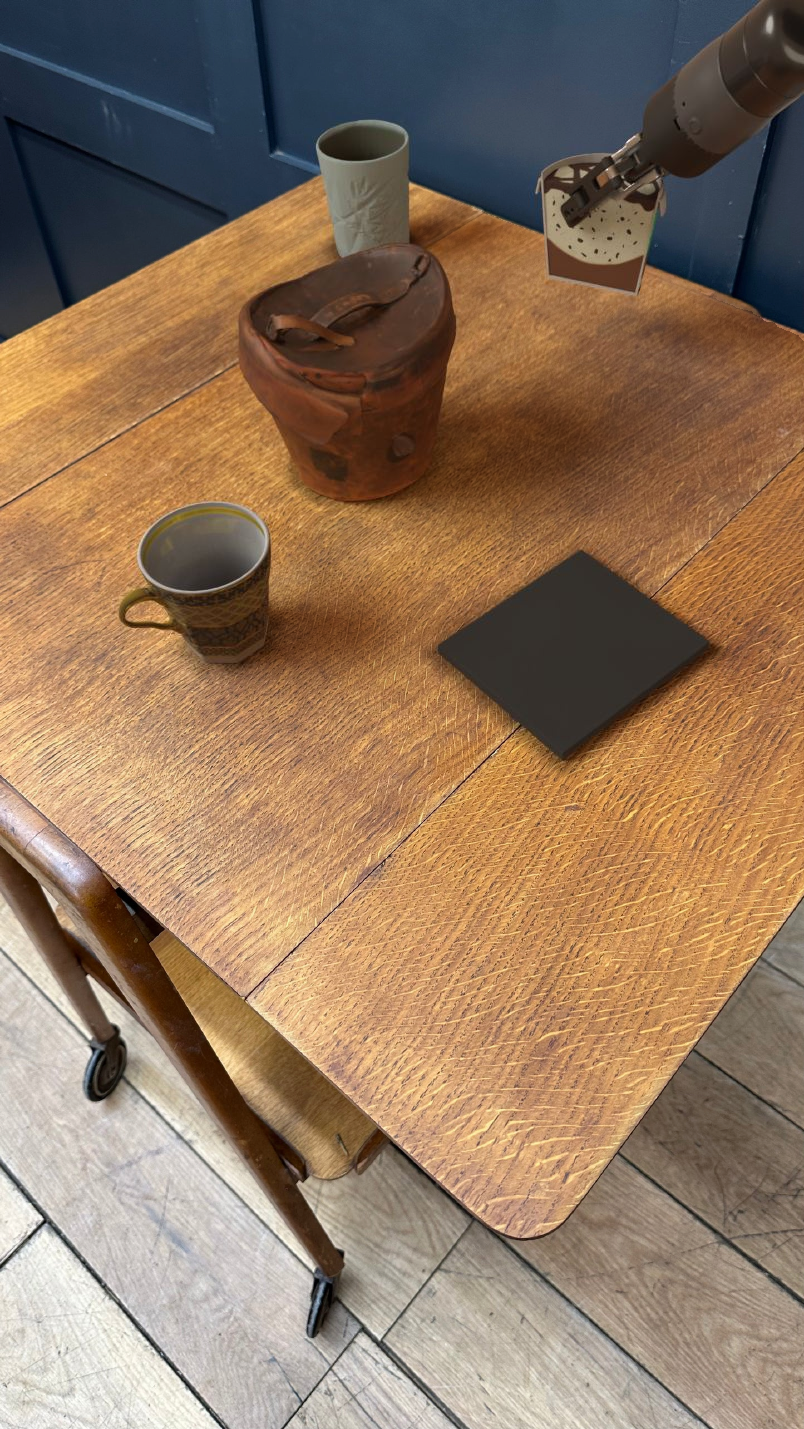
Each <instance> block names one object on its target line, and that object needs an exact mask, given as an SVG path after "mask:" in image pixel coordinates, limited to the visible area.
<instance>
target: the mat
mask: <svg viewBox="0 0 804 1429" xmlns="http://www.w3.org/2000/svg"><path fill="white" fill-rule="evenodd" d="M710 644H711V641H710V640H708V639H707V638H705V637H704V636H703V635H702V634H700V633H699V632H697V631H696V630H694V629H693V628H692V627H690V626H689V625H687V623H685V622H683V621H682V620H681V619H679V618H678V617H677V616H675V615H674V614H672V613H671V612H669V611H668V610H667V609H665V608H664V607H662V606H661V605H659V604H658V603H657V602H656V601H654V600H653V599H651V598H650V597H648V596H647V595H646V594H644V593H643V592H641V590H639V589H638V588H636V587H634V586H633V585H632V584H630V583H629V582H628V581H626V580H625V579H623V578H622V577H621V576H619V575H618V574H617V573H615V572H613V571H612V570H611V569H609V568H608V567H606V566H605V565H604V564H602V563H601V562H599V560H597V559H596V558H594V557H593V556H591V555H590V554H588V553H587V552H586V551H584V550H583V549H579V550H578V551H576V552H575V553H574V554H572V555H570V556H569V557H568V558H566V559H564V560H563V561H562V562H560V563H559V564H557V565H555V566H554V567H552V568H551V569H549V570H548V571H547V572H545V573H544V574H542V575H541V576H539V577H537V578H536V579H534V580H533V581H531V582H530V583H529V584H527V585H526V586H524V587H523V588H521V589H520V590H518V591H516V592H515V593H513V594H512V595H511V596H509V597H508V598H506V599H504V600H503V601H501V602H500V603H498V604H497V605H495V606H494V607H493V608H491V609H490V610H488V611H487V612H485V613H483V614H482V615H479V617H477V618H476V619H474V620H473V621H472V622H469V623H468V624H467V625H466V626H464V627H462V628H461V629H459V630H458V631H457V632H455V633H453V634H452V635H451V636H449V637H447V638H446V639H445V640H443V641H441V642H439V643H438V644H437V653H438V654H439V655H440V656H441V657H442V658H443V659H444V660H446V662H448V663H449V664H450V665H452V666H453V667H454V668H455V669H456V670H457V671H459V673H461V674H462V675H463V676H464V677H465V678H467V679H468V680H469V681H470V682H471V683H472V684H474V685H475V687H477V688H478V689H479V690H480V691H481V692H483V693H484V694H485V695H486V696H488V698H490V700H492V701H493V702H494V703H495V704H497V705H498V707H500V708H501V709H502V710H503V711H504V712H505V713H507V715H509V716H510V717H511V718H512V719H514V720H515V721H516V722H517V723H518V724H520V725H521V726H522V727H523V728H524V729H525V730H526V731H528V732H529V733H530V734H531V735H532V736H533V737H535V738H536V739H537V740H538V741H539V742H540V743H541V744H543V746H545V747H546V748H547V749H548V750H549V751H551V753H553V754H554V755H555V756H556V757H558V758H559V759H560V760H561V761H564V760H565V759H567V758H568V757H569V756H570V755H572V754H573V753H574V752H576V751H577V750H578V749H579V748H581V747H582V746H583V745H585V744H586V743H588V742H589V741H590V740H592V738H594V737H595V736H596V735H598V734H599V733H600V732H602V731H603V730H604V729H606V728H608V726H610V725H611V724H612V723H614V722H615V721H616V720H617V719H619V718H621V716H623V715H625V713H627V712H628V711H629V710H631V709H632V708H633V707H635V706H636V705H637V704H638V703H640V702H641V701H643V700H644V699H645V698H646V697H647V696H649V695H651V694H652V693H653V692H654V691H656V690H657V689H659V688H660V687H661V686H663V685H664V684H665V683H666V682H668V681H669V680H670V679H671V678H673V677H674V676H676V675H677V674H678V673H680V672H681V671H682V670H684V669H685V668H686V667H687V666H688V665H690V664H691V663H693V662H694V661H695V660H696V659H698V658H699V657H701V656H702V655H703V654H704V653H706V652H707V651H708V650H709V648H710Z"/></svg>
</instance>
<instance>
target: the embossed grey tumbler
mask: <svg viewBox="0 0 804 1429" xmlns="http://www.w3.org/2000/svg"><path fill="white" fill-rule="evenodd" d="M315 149H316V155H317V158H318V163H319V168H320V172H321V176H322V181H323V185H324V191H325V196H326V204H327V206H328V212H329V213H328V214H329V217H330V221H331V224H332V226H333V236H334V241H335V247H336V251H337V253H338V255H339V257H340V258H343V257H345V256H348V255H351V254H354V253H357V252H359V251H364V250H368V249H371V248H375V247H378V246H380V245H384V244H389V243H410V179H409V176H408V174H409V170H410V166H409V165H410V162H409V161H410V136H409V133H408V132H407V130H406V129H405V128H404V127H402V126H400V125H399V124H396V123H395V122H389V121H385V120H380V119H361V120H360V119H359V120H355V121H348V122H344V123H340V124H339V125H338V124H337V125H336V126H333V127H331V128H329V129H327V130H326V131H324V133H322V134H321V135H320V136H319V137H318V139H317V141H316V144H315Z"/></svg>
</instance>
